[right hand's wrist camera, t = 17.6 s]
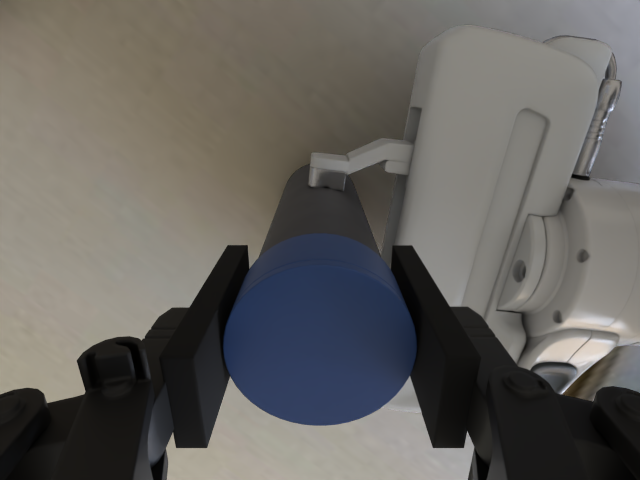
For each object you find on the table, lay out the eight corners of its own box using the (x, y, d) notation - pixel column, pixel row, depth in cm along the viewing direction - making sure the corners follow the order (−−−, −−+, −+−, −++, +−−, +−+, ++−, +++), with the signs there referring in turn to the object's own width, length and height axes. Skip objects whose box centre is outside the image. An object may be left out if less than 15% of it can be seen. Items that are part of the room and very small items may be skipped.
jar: (344, 240, 27) (375, 417, 12) (276, 223, 26) (221, 387, 12) (365, 172, 25) (430, 284, 10) (292, 153, 25) (251, 241, 10)
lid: (420, 249, 12) (443, 285, 10) (377, 382, 14) (388, 437, 12) (251, 217, 11) (234, 247, 9) (231, 359, 13) (213, 411, 11)
